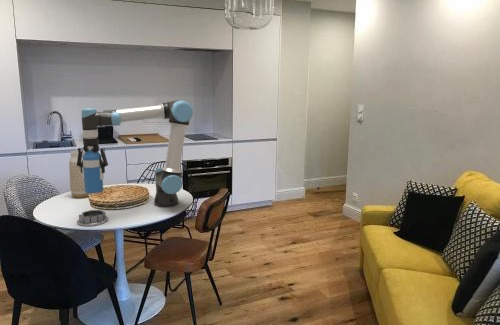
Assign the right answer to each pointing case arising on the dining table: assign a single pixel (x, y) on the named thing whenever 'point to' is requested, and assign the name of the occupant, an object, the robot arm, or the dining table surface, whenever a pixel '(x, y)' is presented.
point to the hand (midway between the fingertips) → (93, 178)
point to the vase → (76, 177)
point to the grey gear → (92, 218)
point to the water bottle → (92, 171)
